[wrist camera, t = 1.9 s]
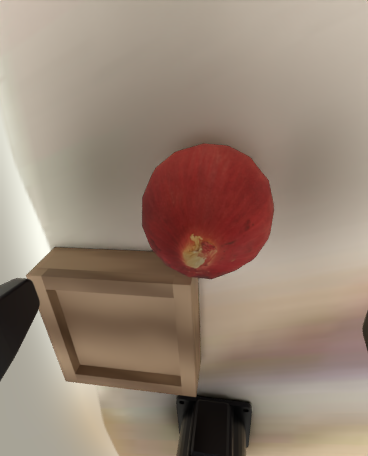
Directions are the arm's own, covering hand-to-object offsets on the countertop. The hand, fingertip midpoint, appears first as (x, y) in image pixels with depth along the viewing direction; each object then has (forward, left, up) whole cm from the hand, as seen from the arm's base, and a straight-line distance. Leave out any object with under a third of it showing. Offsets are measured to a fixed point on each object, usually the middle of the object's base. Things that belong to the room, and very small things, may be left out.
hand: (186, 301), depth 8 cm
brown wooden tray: (-10, +6, -10) cm, 15 cm away
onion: (0, 0, -10) cm, 10 cm away
